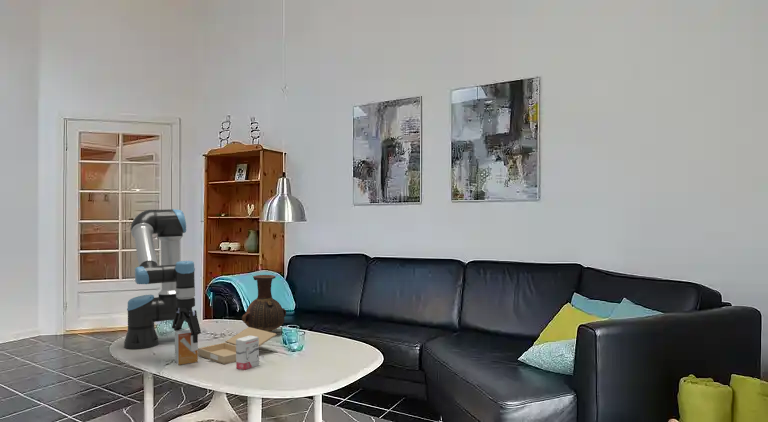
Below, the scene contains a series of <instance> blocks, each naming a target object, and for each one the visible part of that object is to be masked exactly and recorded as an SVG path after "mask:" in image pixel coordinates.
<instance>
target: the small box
mask: <svg viewBox="0 0 768 422" xmlns="http://www.w3.org/2000/svg"><path fill="white" fill-rule="evenodd" d="M198 359H199V356H198V350H196V351H191V331H190V329H184V330H183V329H182V331H176V332H175V331H174V362H175V363H176V364H177V365H178V366H179V365H180V366H181V365H186V364H195V363H198V361H199V360H198Z"/></svg>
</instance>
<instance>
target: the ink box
mask: <svg viewBox="0 0 768 422" xmlns="http://www.w3.org/2000/svg"><path fill="white" fill-rule="evenodd" d="M235 346H236V366H235V368H236V369H238V370H243V371H246V370H248V369H250V368H251V369H252V368H254V367H257V366H259V365H260V349H259V348H260V346H259V337H256V336H246V337H242V338H239V339H237V340H236V345H235Z"/></svg>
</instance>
